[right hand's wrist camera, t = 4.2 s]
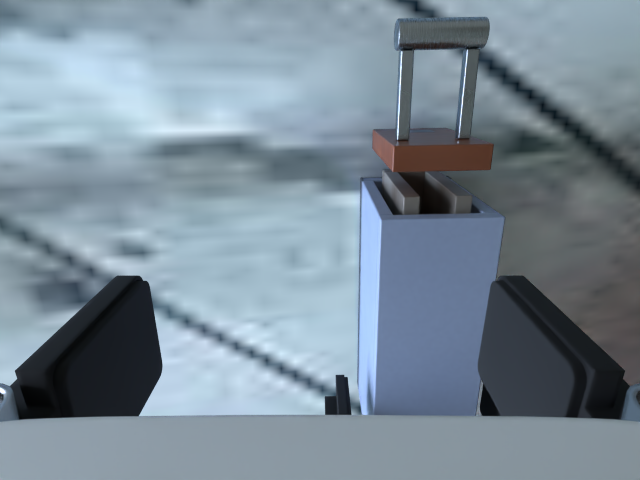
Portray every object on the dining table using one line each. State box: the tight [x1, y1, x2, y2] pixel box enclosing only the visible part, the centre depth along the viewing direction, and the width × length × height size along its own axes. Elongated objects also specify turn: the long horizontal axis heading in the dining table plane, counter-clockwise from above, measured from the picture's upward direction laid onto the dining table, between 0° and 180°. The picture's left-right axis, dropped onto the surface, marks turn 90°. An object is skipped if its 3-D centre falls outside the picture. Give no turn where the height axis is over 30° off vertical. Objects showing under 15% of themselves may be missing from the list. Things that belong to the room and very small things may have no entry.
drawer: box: [372, 17, 494, 215], centre depth 24 cm, size 21×5×7 cm, turn 1°
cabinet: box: [357, 176, 505, 416], centre depth 26 cm, size 17×6×9 cm, turn 1°
